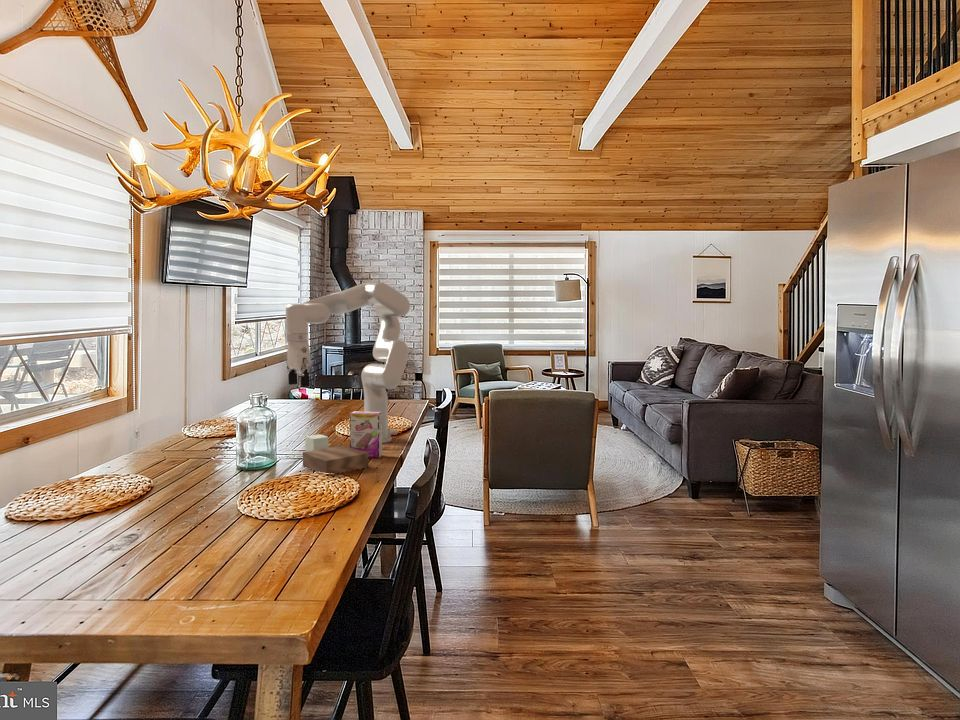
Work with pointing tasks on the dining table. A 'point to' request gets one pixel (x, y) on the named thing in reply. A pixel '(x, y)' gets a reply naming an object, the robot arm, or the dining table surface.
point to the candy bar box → (366, 432)
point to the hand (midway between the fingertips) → (299, 385)
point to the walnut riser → (335, 459)
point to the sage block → (316, 442)
